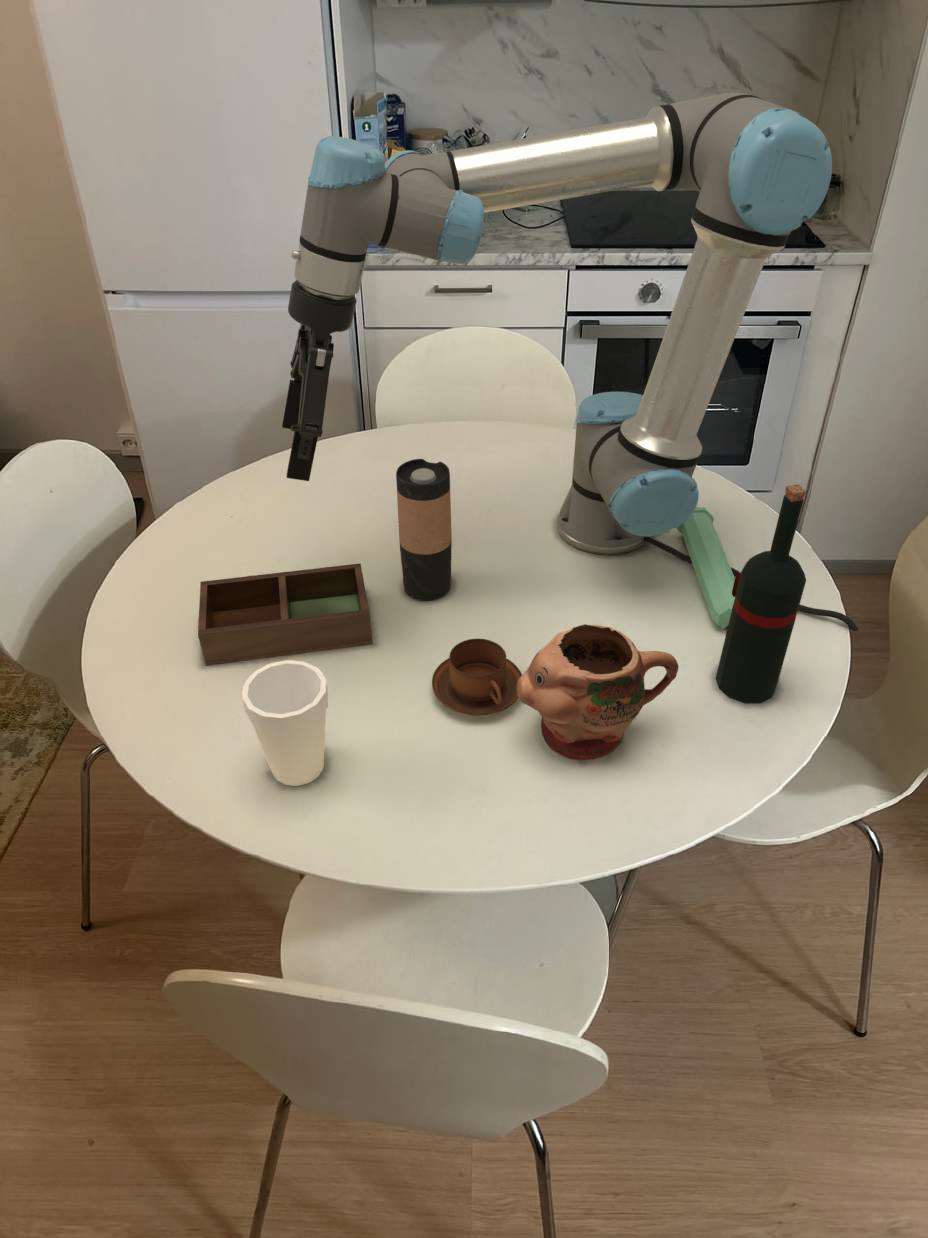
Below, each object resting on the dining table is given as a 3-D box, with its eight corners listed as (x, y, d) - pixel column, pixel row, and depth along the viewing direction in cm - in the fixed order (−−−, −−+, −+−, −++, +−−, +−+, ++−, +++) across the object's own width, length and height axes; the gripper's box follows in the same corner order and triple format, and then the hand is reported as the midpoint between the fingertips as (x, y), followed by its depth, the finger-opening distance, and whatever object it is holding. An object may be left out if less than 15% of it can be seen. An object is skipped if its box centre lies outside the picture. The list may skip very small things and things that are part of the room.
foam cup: (262, 739, 114) (247, 662, 106) (337, 735, 115) (327, 657, 107) (255, 799, 107) (238, 720, 99) (335, 793, 108) (324, 715, 100)
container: (749, 600, 126) (708, 501, 145) (706, 613, 128) (672, 513, 147) (757, 629, 130) (716, 529, 149) (716, 642, 131) (681, 541, 150)
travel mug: (415, 608, 135) (409, 490, 122) (394, 580, 140) (386, 465, 128) (461, 593, 138) (460, 477, 125) (438, 566, 143) (435, 453, 130)
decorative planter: (643, 684, 122) (657, 601, 113) (686, 748, 113) (704, 664, 104) (501, 714, 118) (504, 631, 109) (534, 784, 109) (539, 700, 100)
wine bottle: (748, 648, 128) (797, 457, 109) (787, 697, 120) (846, 501, 101) (697, 658, 126) (737, 466, 107) (733, 709, 118) (783, 512, 99)
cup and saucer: (541, 690, 121) (543, 655, 117) (480, 738, 114) (481, 703, 111) (474, 649, 128) (475, 615, 124) (413, 693, 121) (411, 658, 117)
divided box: (372, 644, 129) (369, 613, 125) (205, 665, 125) (197, 634, 122) (363, 593, 138) (360, 563, 134) (207, 611, 135) (200, 581, 131)
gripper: (287, 247, 113) (262, 405, 125) (298, 319, 94) (268, 497, 106) (347, 261, 116) (317, 414, 128) (369, 334, 97) (332, 506, 108)
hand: (294, 452), depth 117 cm, fingers open, 13 cm apart
